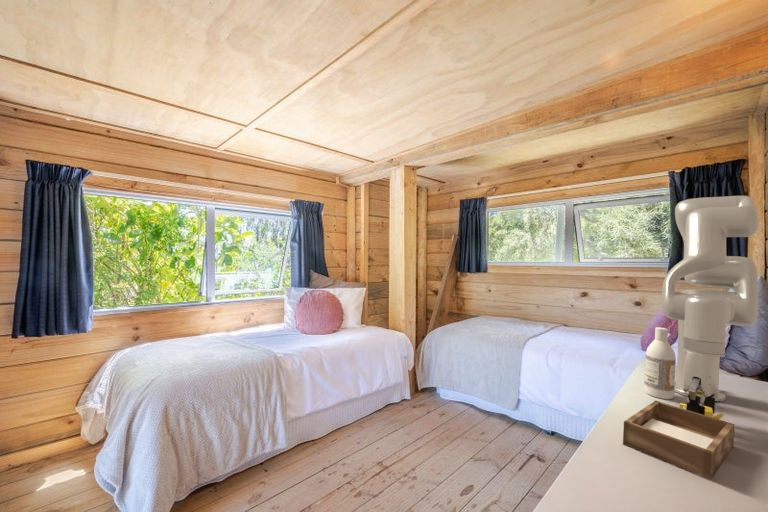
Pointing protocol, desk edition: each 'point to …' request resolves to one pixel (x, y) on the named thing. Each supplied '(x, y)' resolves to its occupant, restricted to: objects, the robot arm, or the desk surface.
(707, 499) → the desk surface
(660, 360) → the bath foam
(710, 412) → the teapot
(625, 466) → the desk surface
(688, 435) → the plate
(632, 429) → the box
